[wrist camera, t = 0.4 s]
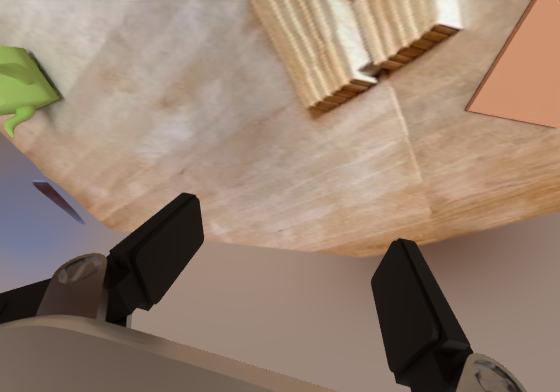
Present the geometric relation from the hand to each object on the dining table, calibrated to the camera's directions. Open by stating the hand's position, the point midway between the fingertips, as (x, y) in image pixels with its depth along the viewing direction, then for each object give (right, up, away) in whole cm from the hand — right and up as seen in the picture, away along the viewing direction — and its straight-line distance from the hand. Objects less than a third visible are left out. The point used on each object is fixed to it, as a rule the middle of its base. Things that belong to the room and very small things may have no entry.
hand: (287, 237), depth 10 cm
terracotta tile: (+35, +19, +17) cm, 44 cm away
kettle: (-52, +26, +33) cm, 68 cm away
